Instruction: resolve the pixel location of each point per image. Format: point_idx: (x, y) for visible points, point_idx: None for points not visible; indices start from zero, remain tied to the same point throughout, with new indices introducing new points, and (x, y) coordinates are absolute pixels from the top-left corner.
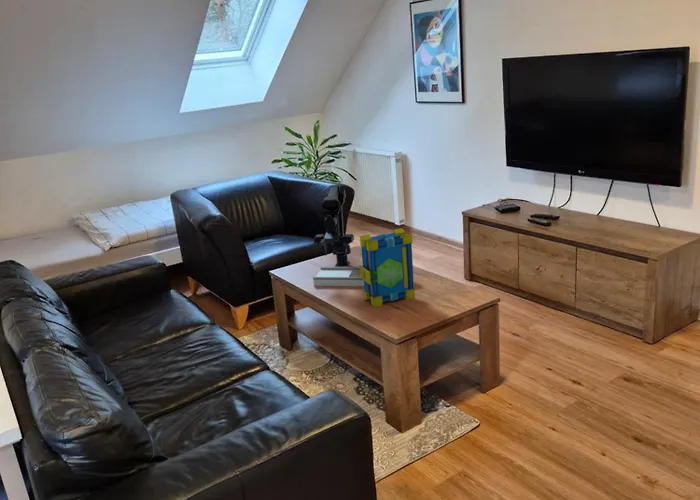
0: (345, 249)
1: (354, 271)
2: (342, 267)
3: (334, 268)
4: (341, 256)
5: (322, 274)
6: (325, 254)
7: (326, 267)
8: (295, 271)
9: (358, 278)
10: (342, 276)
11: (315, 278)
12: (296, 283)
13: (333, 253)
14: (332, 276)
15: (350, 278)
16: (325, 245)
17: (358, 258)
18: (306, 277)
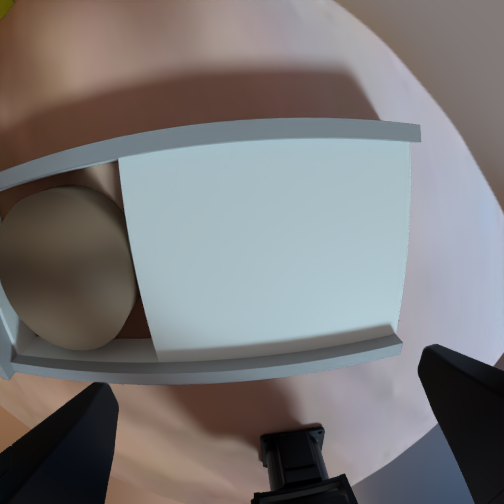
0: (13, 450)
1: (152, 355)
2: (238, 370)
3: (303, 357)
4: (294, 475)
5: (372, 247)
6: (445, 351)
7: (365, 351)
8: (485, 330)
9: (27, 162)
10: (181, 219)
11: (398, 123)
12: (476, 172)
13: (343, 480)
14: (275, 209)
15: (79, 147)
16: (489, 488)
17: (240, 487)
18: (449, 268)
